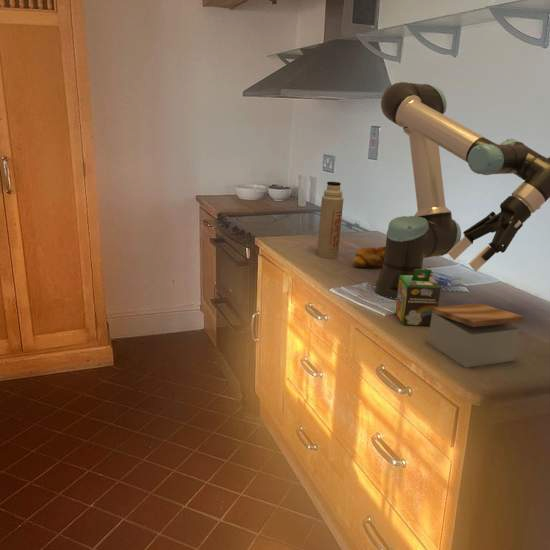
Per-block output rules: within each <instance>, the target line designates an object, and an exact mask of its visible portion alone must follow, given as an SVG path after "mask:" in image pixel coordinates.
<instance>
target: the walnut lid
mask: <svg viewBox="0 0 550 550" xmlns="http://www.w3.org/2000/svg"><path fill="white" fill-rule="evenodd" d="M431 312H432V313H435V314H438V315H441V316H443V317H446V318H449V319H452V320H455V321H458V322H460V323H463V324H466V325H469V326H472V327H477V326H486V325H496V324H505V323H509V324H511V323H512V324H513V323H523V322H524V319H525V316H524V315H520V314H517V313H514V312H510V311H507V310H503V309H501V308H497V307H493V306H489V305H486V304H483V303H480V302H477V303H467V304H466V303H464V304H455V305H443V306H438V307H432V308H431Z"/></svg>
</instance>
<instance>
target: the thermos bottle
mask: <svg viewBox="0 0 550 550" xmlns="http://www.w3.org/2000/svg"><path fill="white" fill-rule="evenodd" d="M326 184H327V185H326V189H325V190H324V191H323V196H322V197H321V205H320V213H319V214H320V217H319V227H318V237H317V238H318V240H317V249H316V250H317V251H316V256H317V257H320V258H321V259H329V260H330V259H337V258H338V256H339V248H340V236H341V228H342V227H341V226H342V220H343V219H342V218H343V208H344V207H343V206H344V197H343V192H342V190H341V185H342V183H341V182H340V181H327V183H326Z"/></svg>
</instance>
